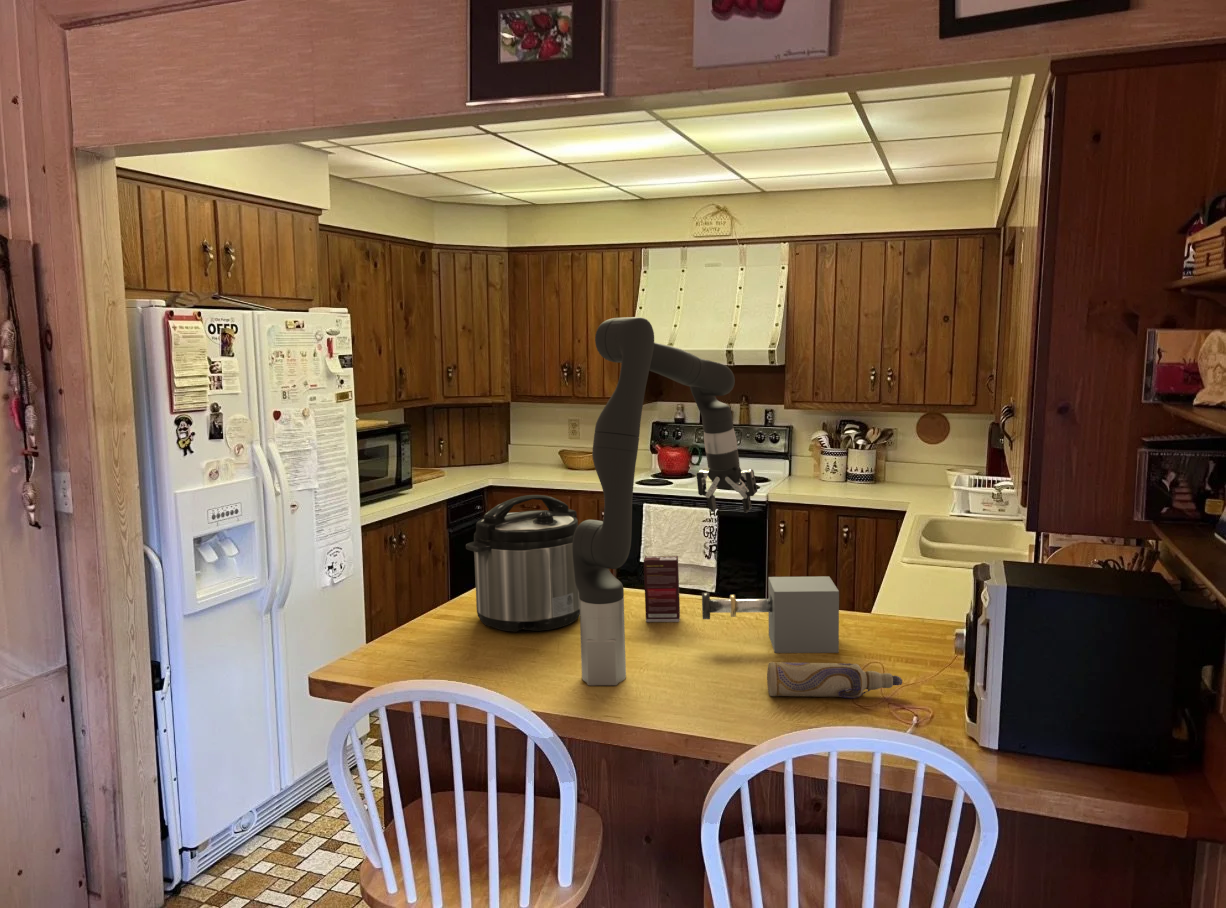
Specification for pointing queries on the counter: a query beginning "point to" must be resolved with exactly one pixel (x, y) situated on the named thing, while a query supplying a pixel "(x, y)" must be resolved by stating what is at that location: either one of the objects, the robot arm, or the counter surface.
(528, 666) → the counter surface
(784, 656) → the counter surface
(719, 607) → the shaft
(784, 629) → the bearing block
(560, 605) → the pressure cooker
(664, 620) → the supplement box
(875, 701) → the counter surface
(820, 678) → the decorative bottle
